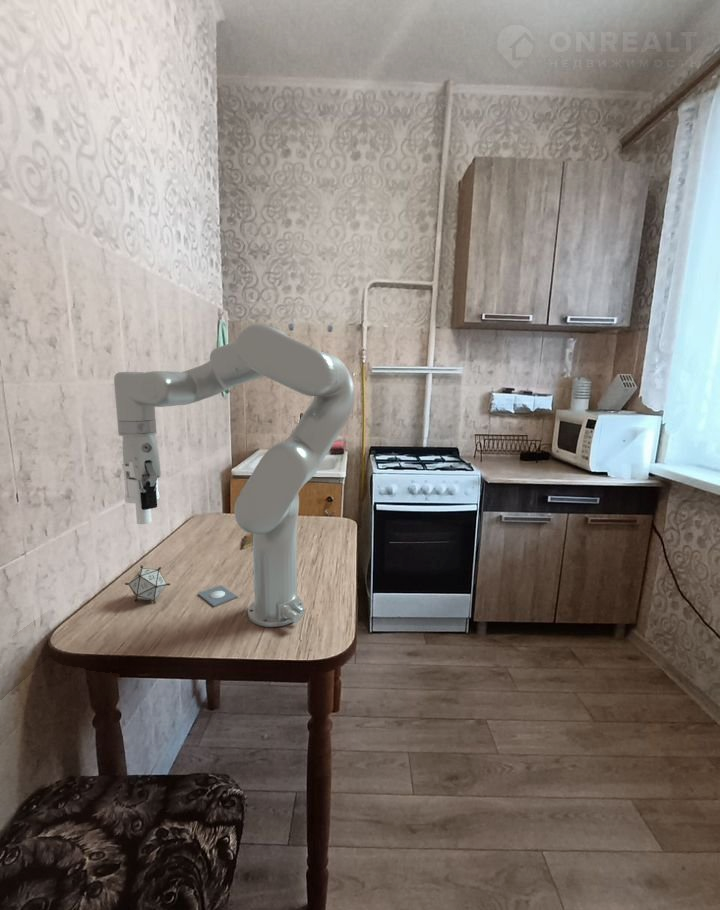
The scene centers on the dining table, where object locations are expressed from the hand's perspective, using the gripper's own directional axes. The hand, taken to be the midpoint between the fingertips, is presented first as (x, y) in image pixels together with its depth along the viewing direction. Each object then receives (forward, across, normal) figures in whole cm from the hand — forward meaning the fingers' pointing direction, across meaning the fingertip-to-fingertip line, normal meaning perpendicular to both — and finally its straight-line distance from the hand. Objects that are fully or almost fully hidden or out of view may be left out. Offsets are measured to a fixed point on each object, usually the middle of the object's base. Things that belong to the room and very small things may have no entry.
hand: (143, 504), depth 95 cm
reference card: (+24, -10, -12) cm, 28 cm away
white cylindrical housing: (+4, 0, 0) cm, 4 cm away
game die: (+24, 0, 0) cm, 24 cm away
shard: (+24, +14, -38) cm, 47 cm away
